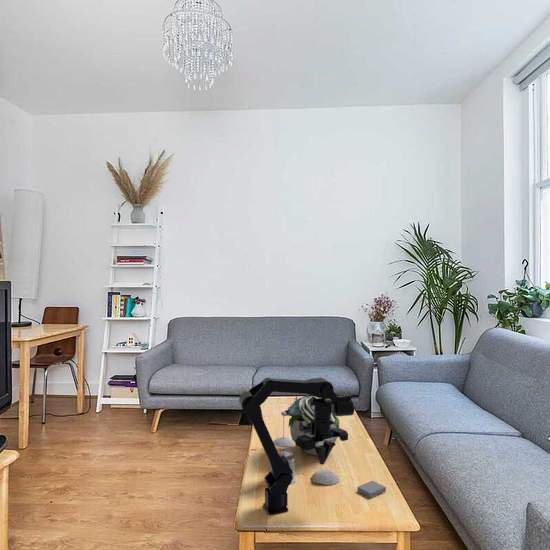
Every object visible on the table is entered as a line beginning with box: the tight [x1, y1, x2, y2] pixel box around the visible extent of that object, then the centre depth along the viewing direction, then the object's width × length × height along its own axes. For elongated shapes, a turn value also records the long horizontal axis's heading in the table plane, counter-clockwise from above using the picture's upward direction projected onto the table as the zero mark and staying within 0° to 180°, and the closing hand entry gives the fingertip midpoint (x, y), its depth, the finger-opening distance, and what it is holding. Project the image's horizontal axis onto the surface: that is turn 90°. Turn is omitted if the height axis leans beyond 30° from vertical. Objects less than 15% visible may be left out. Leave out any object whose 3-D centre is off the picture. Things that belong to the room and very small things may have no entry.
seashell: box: [310, 468, 340, 486], centre depth 157 cm, size 10×6×10 cm
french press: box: [273, 411, 297, 485], centre depth 156 cm, size 10×12×25 cm
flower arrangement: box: [284, 394, 340, 456], centre depth 183 cm, size 25×25×24 cm
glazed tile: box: [356, 480, 387, 499], centre depth 148 cm, size 2×6×8 cm
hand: (322, 464), depth 140 cm, fingers closed
